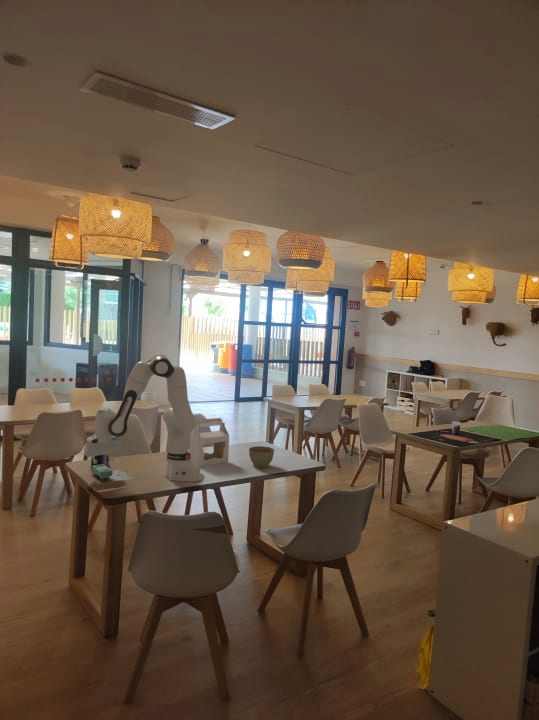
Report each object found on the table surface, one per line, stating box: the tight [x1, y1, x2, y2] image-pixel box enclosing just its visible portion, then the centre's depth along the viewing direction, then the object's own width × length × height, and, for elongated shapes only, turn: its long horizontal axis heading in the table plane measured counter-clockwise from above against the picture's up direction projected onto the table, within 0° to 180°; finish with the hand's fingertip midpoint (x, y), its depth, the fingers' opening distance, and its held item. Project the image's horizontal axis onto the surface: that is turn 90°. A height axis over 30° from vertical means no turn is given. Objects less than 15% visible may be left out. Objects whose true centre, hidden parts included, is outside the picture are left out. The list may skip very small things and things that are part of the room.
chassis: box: [90, 466, 133, 484], centre depth 289 cm, size 20×17×6 cm
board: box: [91, 464, 112, 477], centre depth 288 cm, size 14×6×3 cm, turn 37°
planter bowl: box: [248, 445, 275, 469], centre depth 328 cm, size 16×16×11 cm
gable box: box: [188, 417, 230, 467], centre depth 331 cm, size 22×13×28 cm, turn 125°
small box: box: [90, 454, 110, 469], centre depth 306 cm, size 11×6×10 cm, turn 168°
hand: (103, 462), depth 288 cm, fingers open, 8 cm apart
